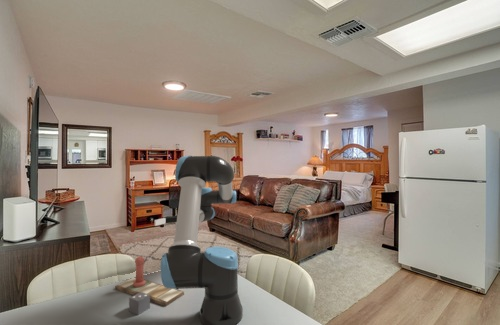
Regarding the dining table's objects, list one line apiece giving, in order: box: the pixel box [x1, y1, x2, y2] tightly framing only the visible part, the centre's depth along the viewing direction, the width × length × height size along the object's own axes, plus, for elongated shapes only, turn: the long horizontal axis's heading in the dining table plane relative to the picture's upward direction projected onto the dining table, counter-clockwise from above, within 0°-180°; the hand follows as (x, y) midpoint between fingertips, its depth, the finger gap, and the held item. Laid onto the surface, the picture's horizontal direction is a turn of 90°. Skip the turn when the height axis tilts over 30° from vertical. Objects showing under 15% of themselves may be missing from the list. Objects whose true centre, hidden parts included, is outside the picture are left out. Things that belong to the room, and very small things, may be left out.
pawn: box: [133, 256, 146, 288], centre depth 110 cm, size 5×5×12 cm
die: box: [128, 292, 151, 316], centre depth 93 cm, size 5×5×5 cm
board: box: [114, 276, 185, 307], centre depth 107 cm, size 30×10×1 cm, turn 63°
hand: (165, 224), depth 120 cm, fingers open, 13 cm apart
